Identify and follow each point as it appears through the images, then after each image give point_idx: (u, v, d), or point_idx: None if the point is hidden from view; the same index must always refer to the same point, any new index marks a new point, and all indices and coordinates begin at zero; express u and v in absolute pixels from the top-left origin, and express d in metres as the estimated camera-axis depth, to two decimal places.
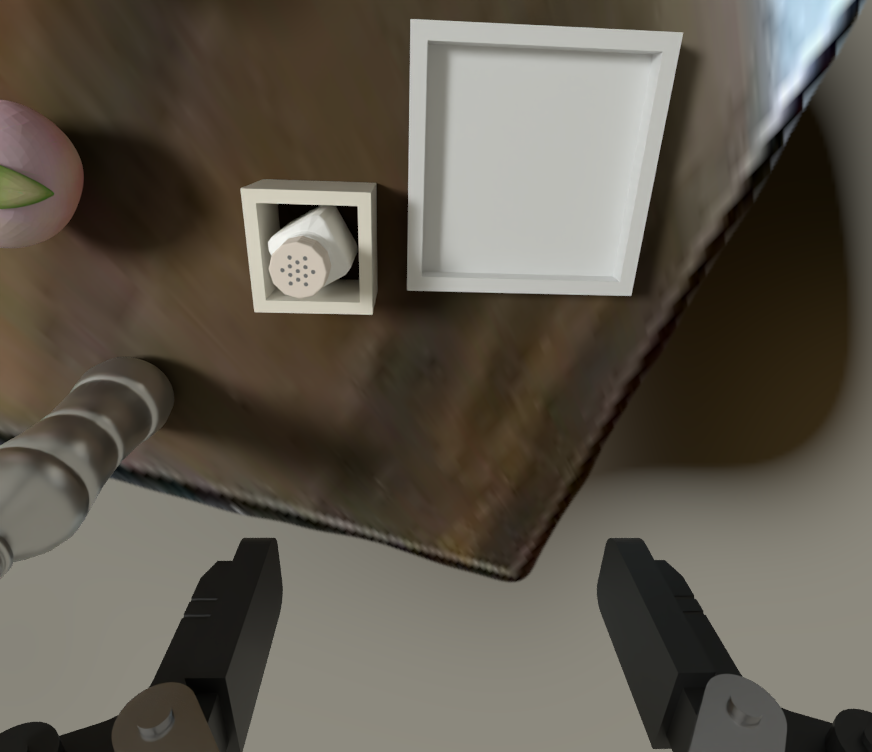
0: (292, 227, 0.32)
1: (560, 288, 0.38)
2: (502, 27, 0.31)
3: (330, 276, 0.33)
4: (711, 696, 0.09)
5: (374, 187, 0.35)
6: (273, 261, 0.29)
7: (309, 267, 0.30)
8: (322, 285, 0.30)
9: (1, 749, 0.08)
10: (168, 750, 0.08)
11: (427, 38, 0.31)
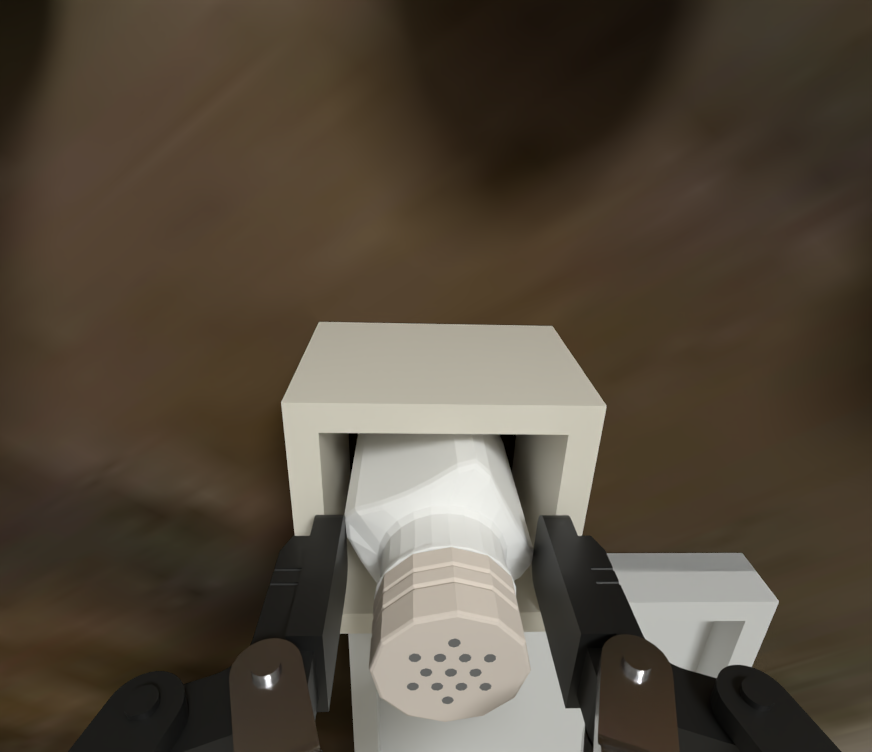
0: (514, 525, 0.13)
1: None
2: None
3: None
4: (607, 653, 0.10)
5: None
6: (480, 625, 0.10)
7: (458, 693, 0.11)
8: (409, 714, 0.11)
9: (139, 690, 0.09)
10: (271, 701, 0.09)
11: (745, 617, 0.21)
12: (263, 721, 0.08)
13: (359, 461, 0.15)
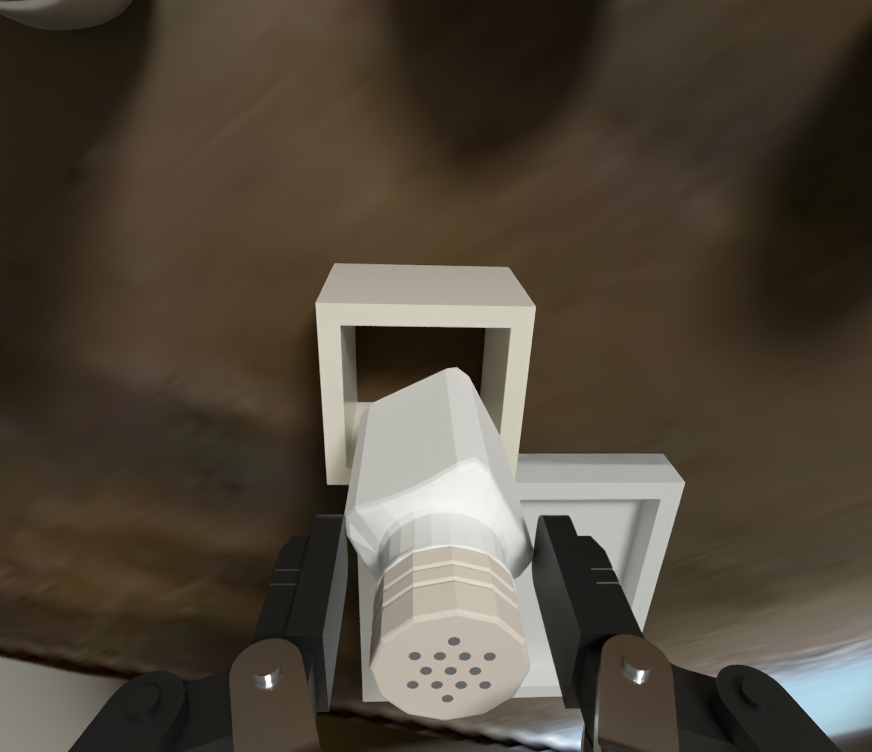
0: (514, 524, 0.13)
1: (368, 642, 0.30)
2: (658, 564, 0.29)
3: None
4: (607, 654, 0.10)
5: None
6: (480, 624, 0.10)
7: (458, 692, 0.11)
8: (409, 713, 0.11)
9: (139, 690, 0.09)
10: (272, 701, 0.09)
11: (661, 497, 0.27)
12: (263, 721, 0.08)
13: (359, 460, 0.15)
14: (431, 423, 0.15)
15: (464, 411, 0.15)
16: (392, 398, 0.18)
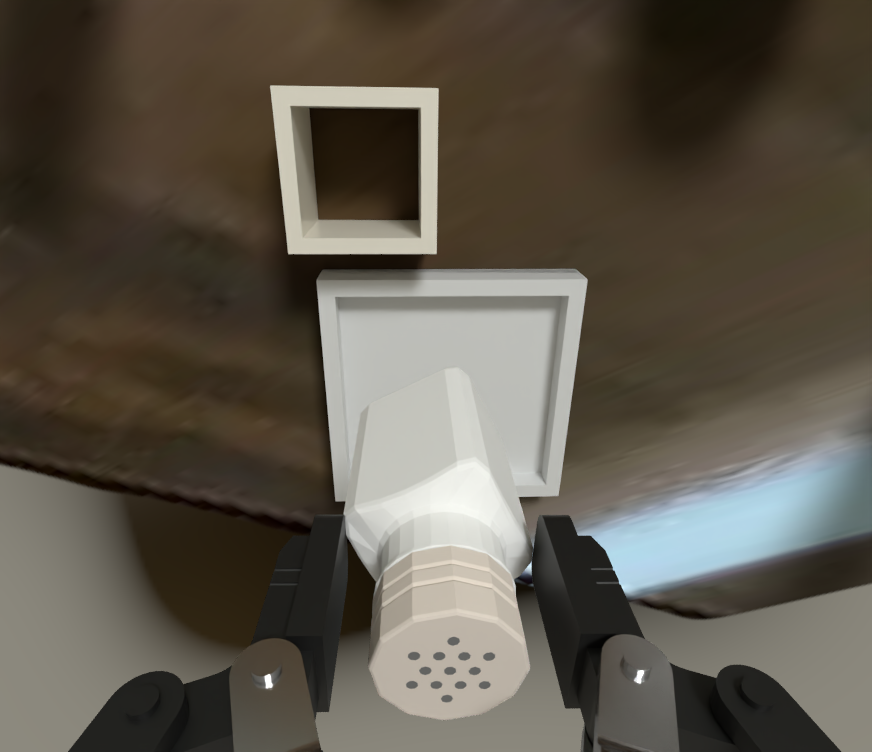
0: (514, 524, 0.13)
1: (336, 439, 0.36)
2: (573, 361, 0.34)
3: None
4: (607, 653, 0.10)
5: None
6: (479, 623, 0.10)
7: (458, 692, 0.11)
8: (409, 713, 0.11)
9: (139, 690, 0.09)
10: (272, 701, 0.09)
11: (569, 294, 0.33)
12: (263, 721, 0.08)
13: (358, 460, 0.15)
14: (430, 422, 0.15)
15: (464, 410, 0.15)
16: (392, 397, 0.18)
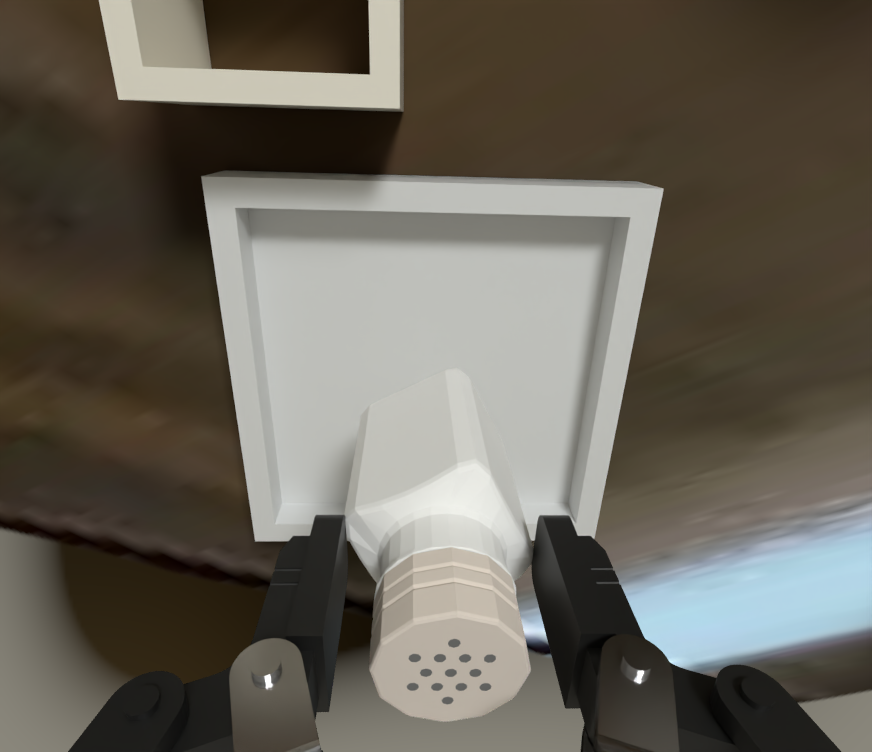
0: (514, 526, 0.13)
1: (251, 447, 0.23)
2: (630, 330, 0.21)
3: None
4: (606, 654, 0.10)
5: None
6: (480, 625, 0.10)
7: (458, 693, 0.11)
8: (409, 714, 0.11)
9: (139, 690, 0.09)
10: (272, 701, 0.09)
11: (631, 216, 0.20)
12: (263, 721, 0.08)
13: (359, 461, 0.15)
14: (431, 424, 0.15)
15: (464, 412, 0.15)
16: (392, 399, 0.18)
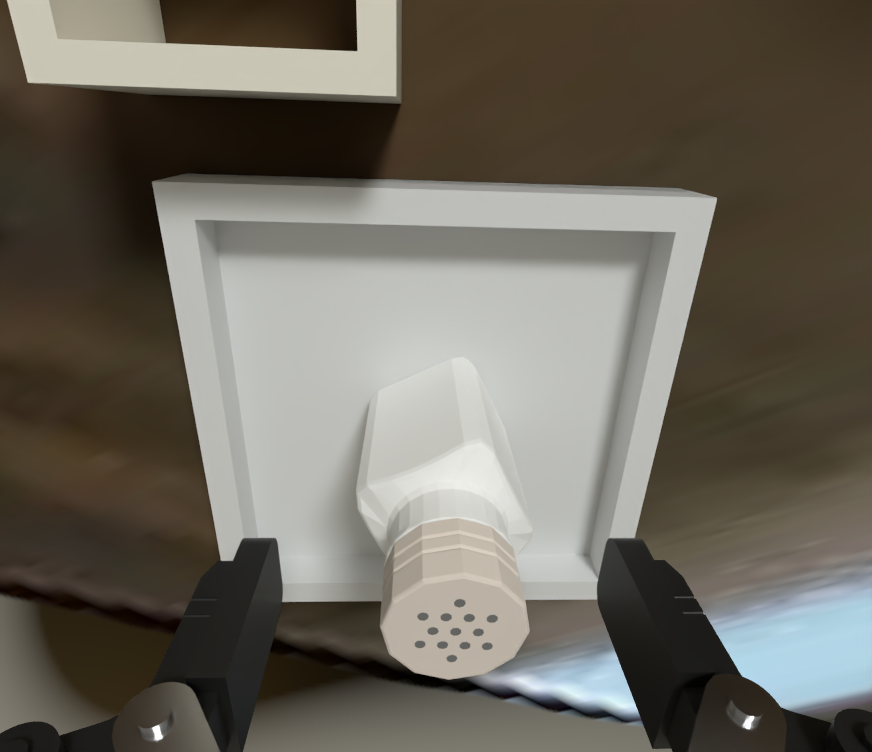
0: (516, 503, 0.14)
1: (221, 498, 0.19)
2: (671, 365, 0.18)
3: None
4: (711, 696, 0.09)
5: (397, 101, 0.15)
6: (484, 587, 0.11)
7: (462, 653, 0.12)
8: (416, 671, 0.12)
9: (1, 749, 0.08)
10: (169, 750, 0.08)
11: (676, 231, 0.16)
12: None
13: (369, 441, 0.16)
14: (438, 407, 0.16)
15: (470, 397, 0.16)
16: (400, 385, 0.18)
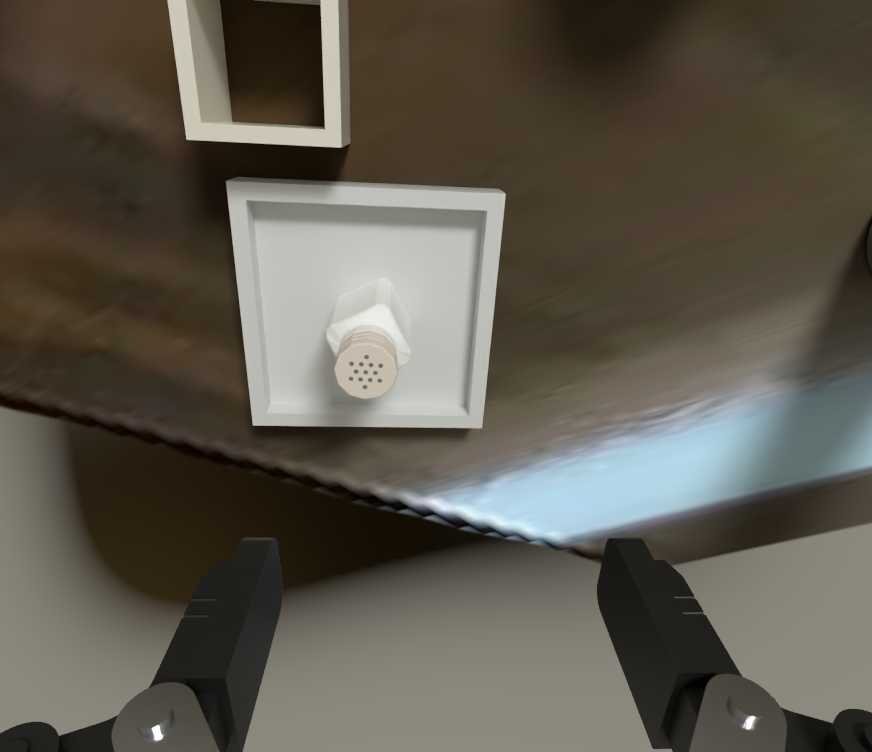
0: (401, 335, 0.30)
1: (251, 357, 0.35)
2: (493, 282, 0.34)
3: None
4: (711, 696, 0.09)
5: (346, 144, 0.30)
6: (376, 349, 0.27)
7: (369, 383, 0.28)
8: (350, 394, 0.28)
9: (1, 749, 0.08)
10: (168, 750, 0.08)
11: (488, 210, 0.32)
12: None
13: (333, 313, 0.32)
14: (367, 296, 0.32)
15: (383, 291, 0.32)
16: (351, 292, 0.34)
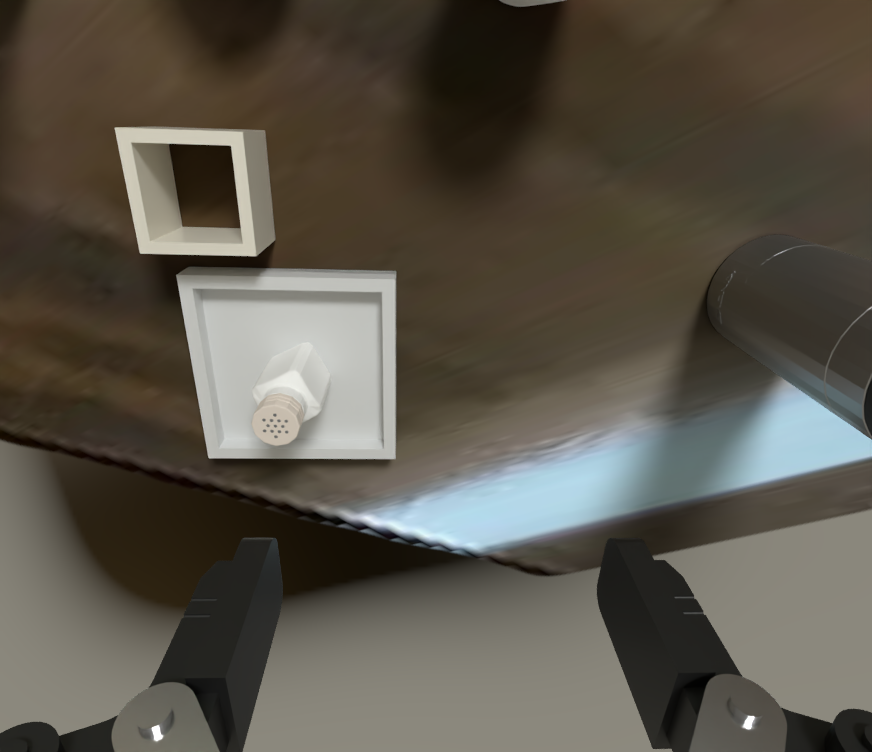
0: (309, 393, 0.39)
1: (204, 405, 0.44)
2: (392, 345, 0.42)
3: None
4: (711, 696, 0.09)
5: (267, 245, 0.39)
6: (281, 409, 0.35)
7: (279, 434, 0.36)
8: (265, 442, 0.36)
9: (1, 749, 0.08)
10: (168, 750, 0.08)
11: (383, 291, 0.41)
12: None
13: (261, 374, 0.41)
14: (288, 361, 0.40)
15: (300, 356, 0.40)
16: (280, 354, 0.43)
